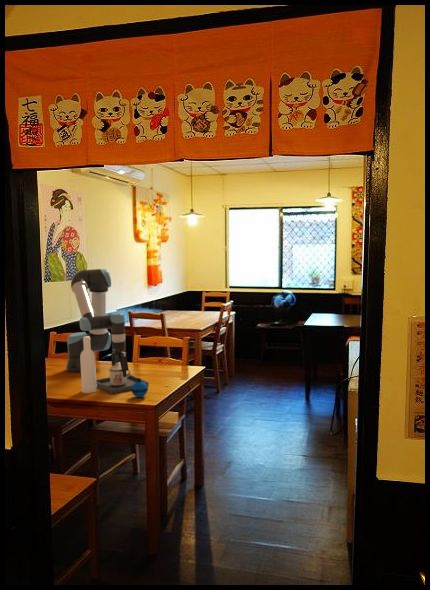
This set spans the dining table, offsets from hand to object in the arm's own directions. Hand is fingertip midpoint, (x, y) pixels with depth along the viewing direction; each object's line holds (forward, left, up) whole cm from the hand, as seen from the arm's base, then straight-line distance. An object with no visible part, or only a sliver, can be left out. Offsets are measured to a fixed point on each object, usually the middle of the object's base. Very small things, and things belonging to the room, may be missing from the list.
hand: (120, 380), depth 281 cm
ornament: (+26, -2, -3) cm, 26 cm away
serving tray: (0, 0, -3) cm, 3 cm away
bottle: (-2, -18, -3) cm, 18 cm away
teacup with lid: (0, 0, -2) cm, 2 cm away
